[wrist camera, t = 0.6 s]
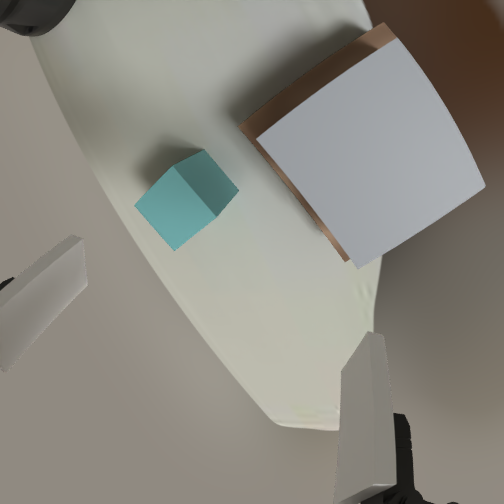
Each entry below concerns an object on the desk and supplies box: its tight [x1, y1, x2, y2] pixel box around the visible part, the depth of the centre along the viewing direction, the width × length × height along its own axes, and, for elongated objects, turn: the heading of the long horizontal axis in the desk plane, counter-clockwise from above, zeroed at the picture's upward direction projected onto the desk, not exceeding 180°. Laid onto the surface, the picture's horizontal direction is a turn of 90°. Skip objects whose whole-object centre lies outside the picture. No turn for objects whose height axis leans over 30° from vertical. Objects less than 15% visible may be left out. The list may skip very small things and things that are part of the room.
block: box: [134, 150, 239, 251], centre depth 31 cm, size 6×6×8 cm
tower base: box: [238, 22, 397, 262], centre depth 26 cm, size 16×16×6 cm
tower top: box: [256, 38, 486, 269], centre depth 21 cm, size 12×12×6 cm
